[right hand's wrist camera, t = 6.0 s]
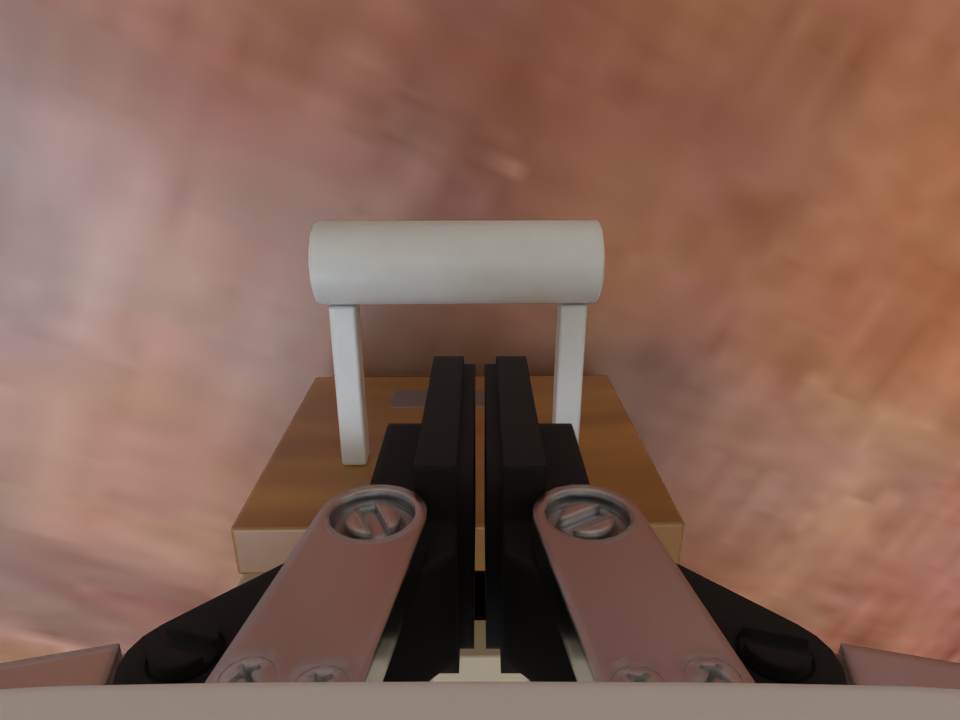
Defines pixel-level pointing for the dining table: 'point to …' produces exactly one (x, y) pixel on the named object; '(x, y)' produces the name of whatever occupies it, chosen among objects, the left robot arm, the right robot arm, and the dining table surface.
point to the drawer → (382, 400)
